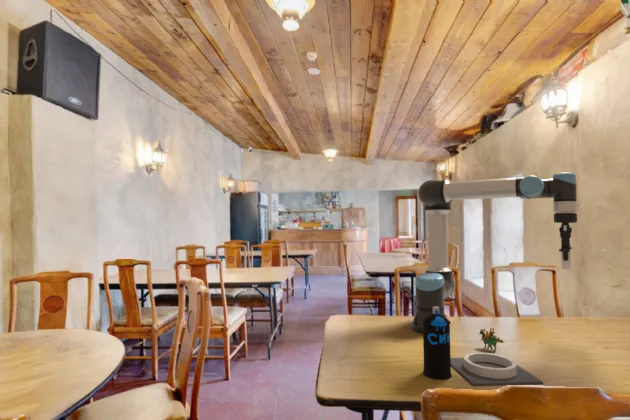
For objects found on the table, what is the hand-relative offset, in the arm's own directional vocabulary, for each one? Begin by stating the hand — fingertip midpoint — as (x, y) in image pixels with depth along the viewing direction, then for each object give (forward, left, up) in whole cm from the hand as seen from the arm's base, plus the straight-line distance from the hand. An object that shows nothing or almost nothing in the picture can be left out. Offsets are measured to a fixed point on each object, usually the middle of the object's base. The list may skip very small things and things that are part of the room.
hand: (566, 267), depth 145 cm
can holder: (-21, -48, -28) cm, 60 cm away
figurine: (-23, -28, -28) cm, 46 cm away
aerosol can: (-34, -59, -28) cm, 74 cm away
